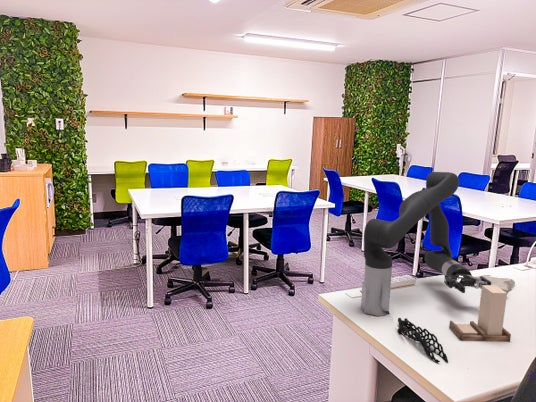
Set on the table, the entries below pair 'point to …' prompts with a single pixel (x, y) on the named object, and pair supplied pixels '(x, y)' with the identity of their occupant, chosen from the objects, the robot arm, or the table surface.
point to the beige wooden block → (492, 310)
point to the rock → (500, 282)
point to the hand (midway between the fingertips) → (477, 290)
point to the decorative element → (419, 338)
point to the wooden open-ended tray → (479, 334)
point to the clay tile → (466, 329)
